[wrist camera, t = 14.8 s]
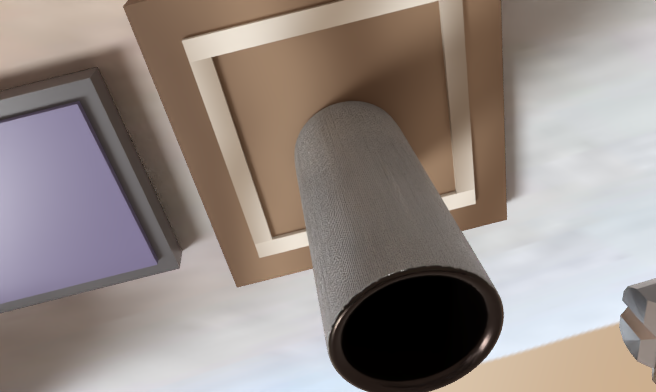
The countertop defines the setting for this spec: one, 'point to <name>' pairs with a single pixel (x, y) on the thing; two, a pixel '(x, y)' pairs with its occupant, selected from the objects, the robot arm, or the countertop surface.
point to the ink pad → (73, 195)
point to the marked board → (322, 104)
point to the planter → (389, 258)
